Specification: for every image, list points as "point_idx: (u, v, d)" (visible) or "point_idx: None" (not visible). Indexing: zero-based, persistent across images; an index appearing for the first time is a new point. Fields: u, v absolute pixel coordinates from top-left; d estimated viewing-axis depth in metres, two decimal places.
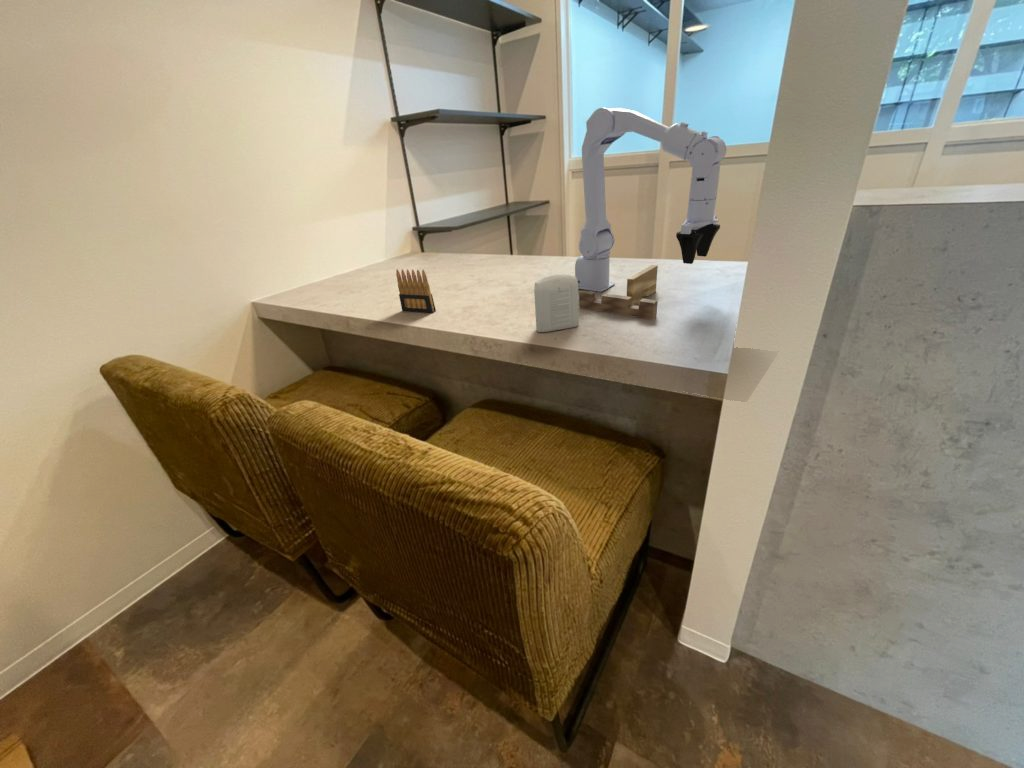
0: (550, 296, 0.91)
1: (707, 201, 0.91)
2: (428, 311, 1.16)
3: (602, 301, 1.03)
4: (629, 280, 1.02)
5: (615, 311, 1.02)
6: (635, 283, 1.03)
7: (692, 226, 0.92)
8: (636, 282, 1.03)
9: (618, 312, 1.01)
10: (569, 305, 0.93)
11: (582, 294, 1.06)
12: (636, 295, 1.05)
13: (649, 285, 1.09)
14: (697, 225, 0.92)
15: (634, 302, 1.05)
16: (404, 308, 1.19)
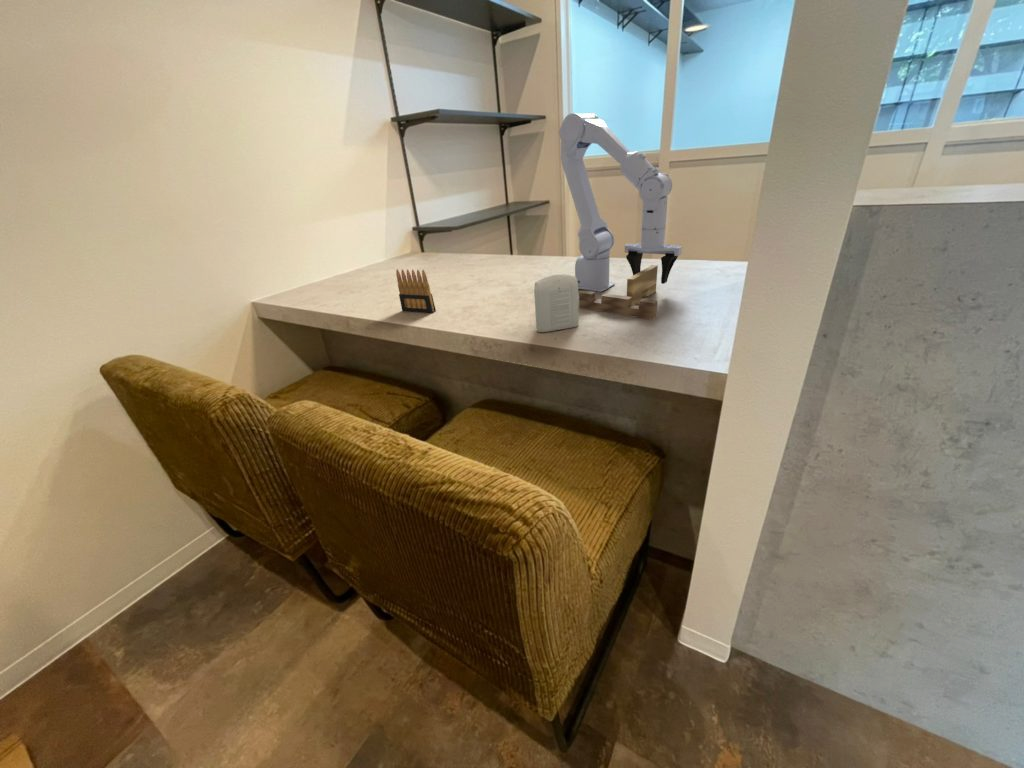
0: (550, 296, 0.91)
1: (642, 230, 1.04)
2: (428, 311, 1.16)
3: (602, 301, 1.03)
4: (629, 280, 1.02)
5: (615, 311, 1.02)
6: (635, 283, 1.03)
7: (628, 247, 1.10)
8: (636, 282, 1.03)
9: (618, 312, 1.01)
10: (569, 305, 0.93)
11: (582, 294, 1.06)
12: (636, 295, 1.05)
13: (649, 285, 1.09)
14: (632, 248, 1.08)
15: (634, 302, 1.05)
16: (404, 308, 1.19)
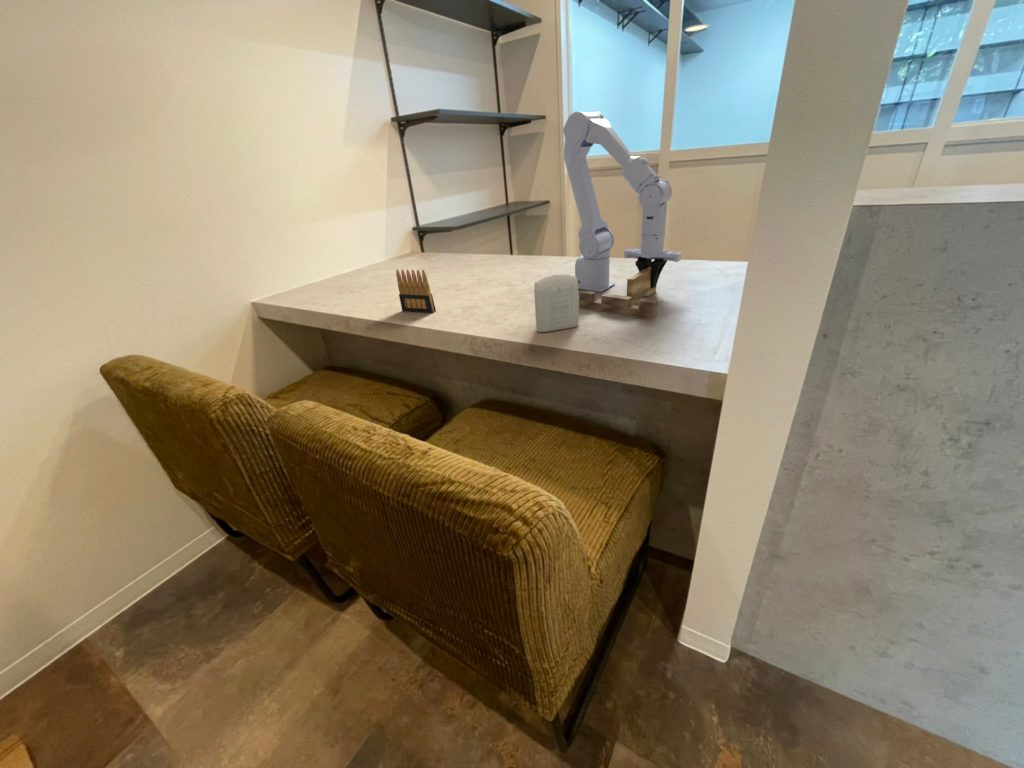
0: (550, 296, 0.91)
1: (641, 236, 1.05)
2: (428, 311, 1.16)
3: (602, 301, 1.03)
4: (629, 280, 1.02)
5: (615, 311, 1.02)
6: (635, 283, 1.03)
7: (627, 252, 1.10)
8: (636, 282, 1.03)
9: (618, 312, 1.01)
10: (569, 305, 0.93)
11: (582, 294, 1.06)
12: (636, 295, 1.05)
13: (649, 285, 1.09)
14: (632, 253, 1.09)
15: (634, 302, 1.05)
16: (404, 308, 1.19)
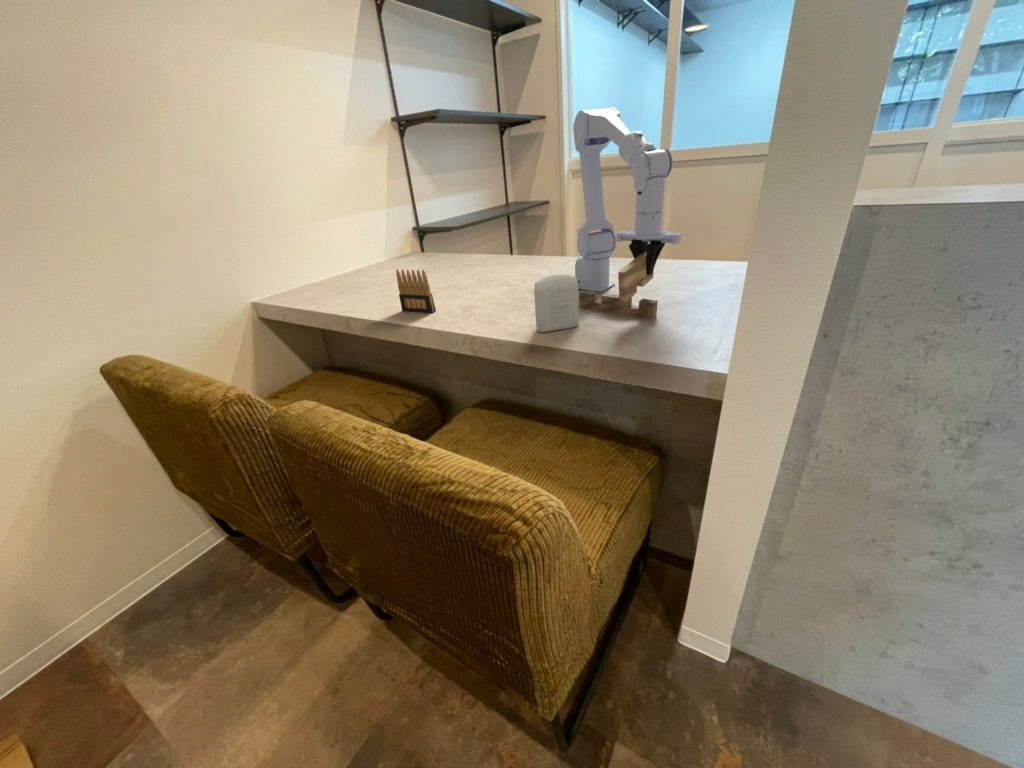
0: (550, 296, 0.91)
1: (636, 215, 0.92)
2: (428, 311, 1.16)
3: (602, 301, 1.03)
4: (620, 273, 0.89)
5: (615, 311, 1.02)
6: (627, 276, 0.90)
7: (620, 234, 0.97)
8: (629, 274, 0.90)
9: (618, 312, 1.01)
10: (569, 305, 0.93)
11: (582, 294, 1.06)
12: (630, 288, 0.92)
13: (645, 273, 0.96)
14: (625, 235, 0.96)
15: (628, 296, 0.93)
16: (404, 308, 1.19)
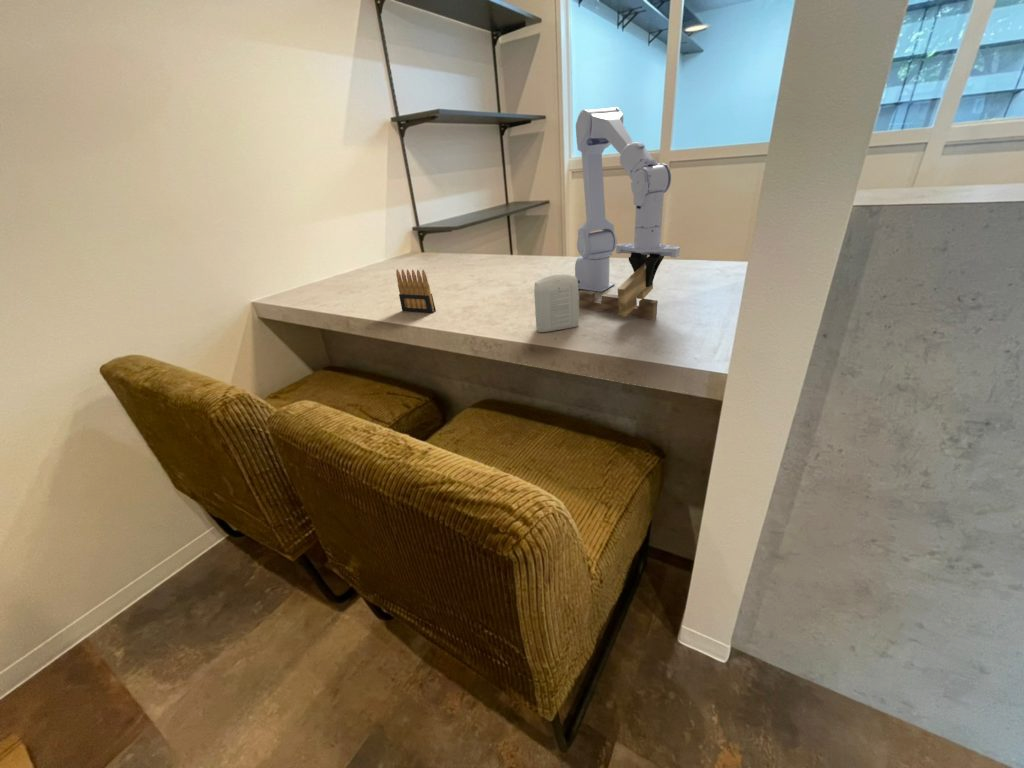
0: (550, 296, 0.91)
1: (635, 228, 0.93)
2: (428, 311, 1.16)
3: (602, 301, 1.03)
4: (620, 290, 0.91)
5: (615, 311, 1.02)
6: (626, 292, 0.92)
7: (620, 247, 0.98)
8: (628, 290, 0.92)
9: (618, 312, 1.01)
10: (569, 305, 0.93)
11: (582, 294, 1.06)
12: (629, 303, 0.94)
13: (644, 286, 0.98)
14: (625, 248, 0.97)
15: (628, 311, 0.95)
16: (404, 308, 1.19)
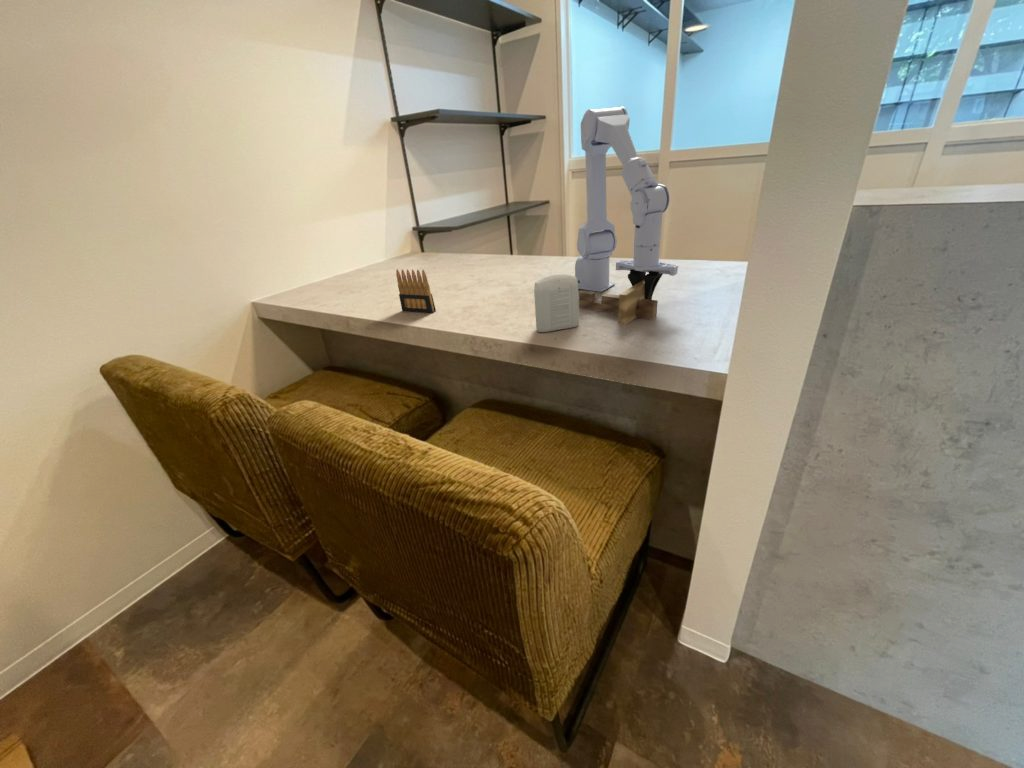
0: (550, 296, 0.91)
1: (634, 247, 0.95)
2: (428, 311, 1.16)
3: (602, 301, 1.03)
4: (621, 296, 0.92)
5: (615, 311, 1.02)
6: (628, 299, 0.93)
7: (619, 264, 1.00)
8: (629, 298, 0.93)
9: (618, 312, 1.01)
10: (569, 305, 0.93)
11: (582, 294, 1.06)
12: (629, 312, 0.95)
13: None
14: (624, 265, 0.99)
15: (627, 319, 0.95)
16: (404, 308, 1.19)
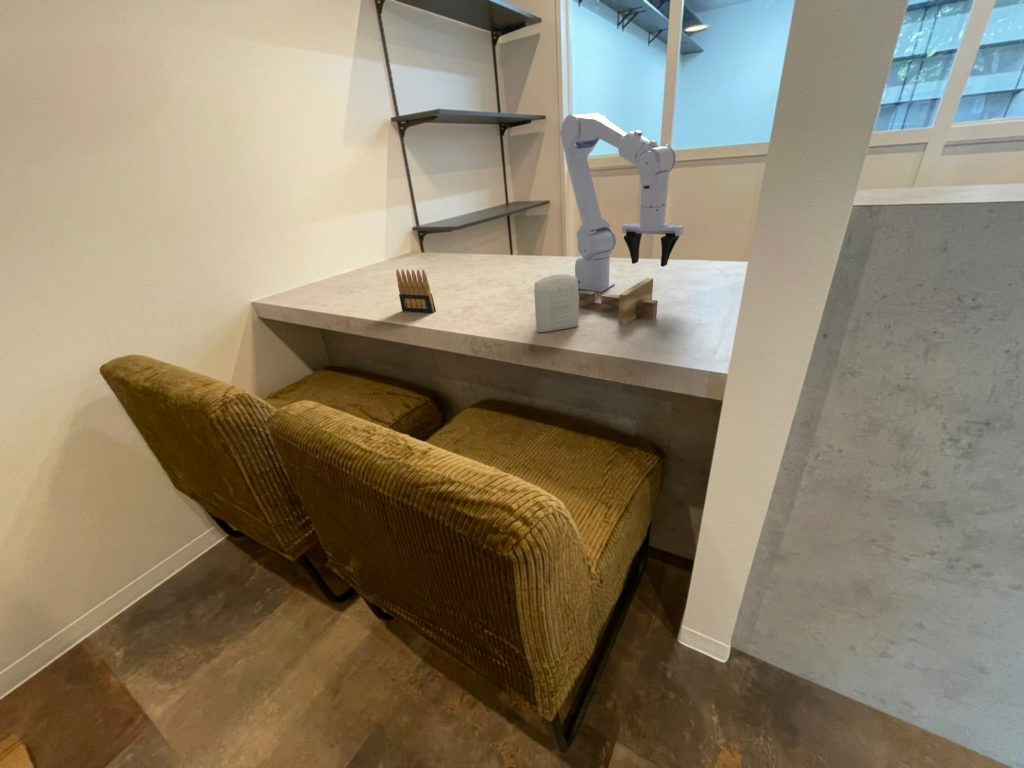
0: (550, 296, 0.91)
1: (641, 208, 0.97)
2: (428, 311, 1.16)
3: (602, 301, 1.03)
4: (621, 296, 0.92)
5: (615, 311, 1.02)
6: (628, 299, 0.93)
7: (626, 227, 1.02)
8: (629, 298, 0.93)
9: (618, 312, 1.01)
10: (569, 305, 0.93)
11: (582, 294, 1.06)
12: (629, 312, 0.95)
13: None
14: (630, 228, 1.01)
15: (627, 319, 0.95)
16: (404, 308, 1.19)
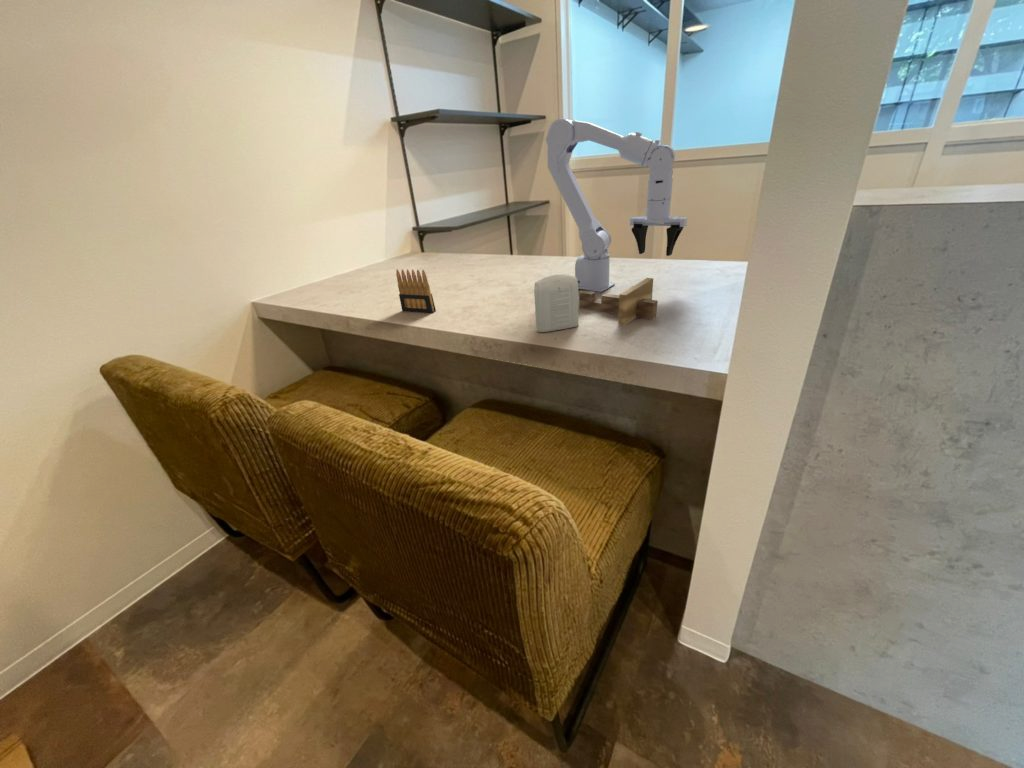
0: (550, 296, 0.91)
1: (647, 201, 1.05)
2: (428, 311, 1.16)
3: (602, 301, 1.03)
4: (621, 296, 0.92)
5: (615, 311, 1.02)
6: (628, 299, 0.93)
7: (633, 219, 1.10)
8: (629, 298, 0.93)
9: (618, 312, 1.01)
10: (569, 305, 0.93)
11: (582, 294, 1.06)
12: (629, 312, 0.95)
13: None
14: (638, 220, 1.09)
15: (627, 319, 0.95)
16: (404, 308, 1.19)
